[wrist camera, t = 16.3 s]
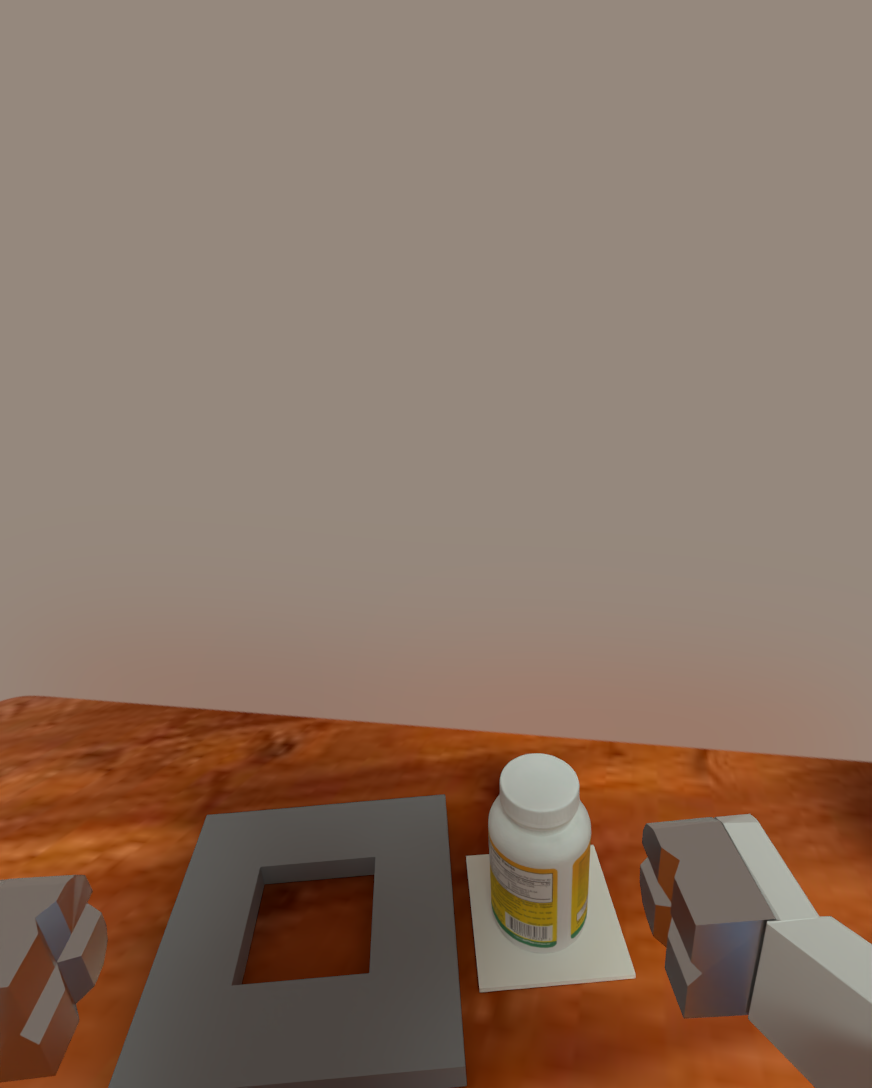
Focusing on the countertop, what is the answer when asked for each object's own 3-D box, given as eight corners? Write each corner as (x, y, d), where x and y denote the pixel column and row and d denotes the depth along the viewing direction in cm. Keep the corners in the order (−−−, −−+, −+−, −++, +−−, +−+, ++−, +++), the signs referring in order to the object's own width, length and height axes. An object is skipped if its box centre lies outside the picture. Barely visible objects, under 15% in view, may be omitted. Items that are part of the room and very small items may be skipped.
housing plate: (113, 1118, 29) (103, 1099, 28) (211, 831, 44) (206, 815, 43) (467, 1086, 29) (465, 1066, 28) (446, 810, 44) (445, 794, 43)
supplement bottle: (517, 973, 33) (513, 837, 29) (476, 888, 38) (468, 761, 34) (607, 935, 35) (614, 801, 31) (557, 857, 39) (558, 732, 36)
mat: (479, 992, 33) (479, 988, 33) (466, 859, 40) (465, 856, 40) (635, 978, 33) (635, 974, 33) (593, 848, 40) (593, 844, 40)
